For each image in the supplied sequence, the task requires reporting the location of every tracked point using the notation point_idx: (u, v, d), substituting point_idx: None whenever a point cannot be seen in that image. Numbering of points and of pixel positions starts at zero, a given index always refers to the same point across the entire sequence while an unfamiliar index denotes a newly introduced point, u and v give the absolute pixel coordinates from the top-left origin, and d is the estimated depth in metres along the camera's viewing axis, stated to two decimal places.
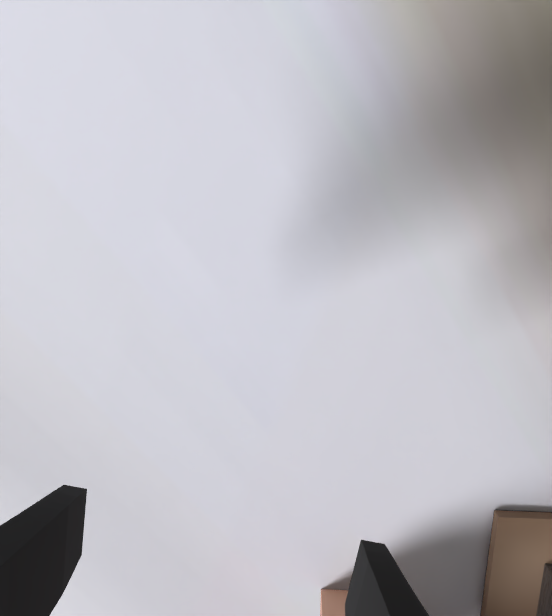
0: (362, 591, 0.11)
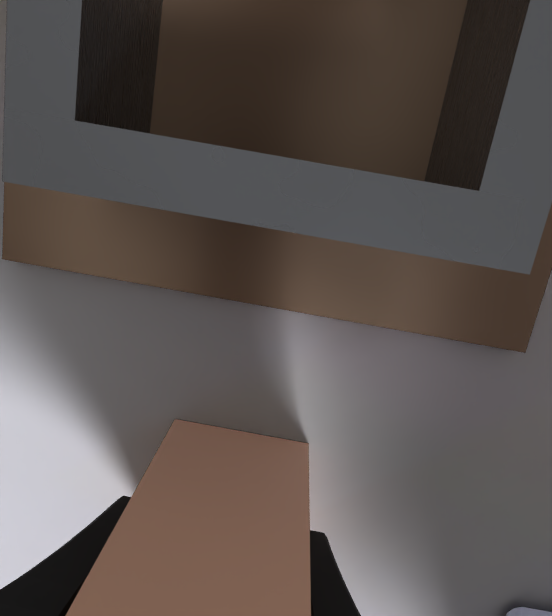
0: None
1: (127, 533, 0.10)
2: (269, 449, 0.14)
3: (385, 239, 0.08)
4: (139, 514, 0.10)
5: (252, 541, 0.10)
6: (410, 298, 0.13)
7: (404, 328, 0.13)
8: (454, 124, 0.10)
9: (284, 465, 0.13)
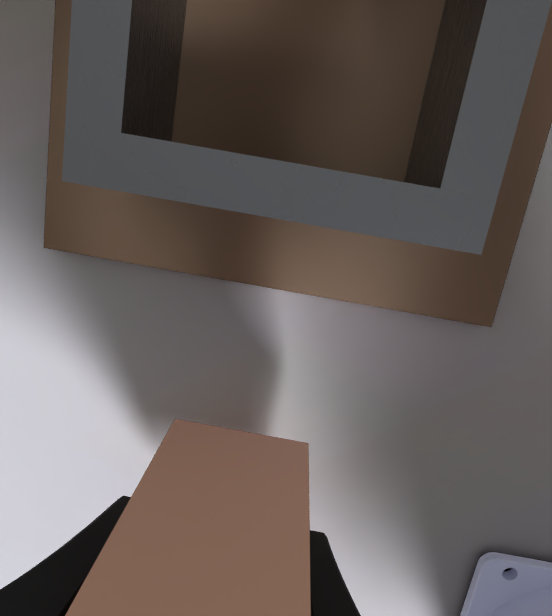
0: None
1: (127, 533, 0.10)
2: (269, 448, 0.14)
3: (367, 227, 0.10)
4: (139, 514, 0.10)
5: (252, 540, 0.10)
6: (393, 280, 0.15)
7: (388, 306, 0.15)
8: (426, 134, 0.12)
9: (283, 465, 0.13)
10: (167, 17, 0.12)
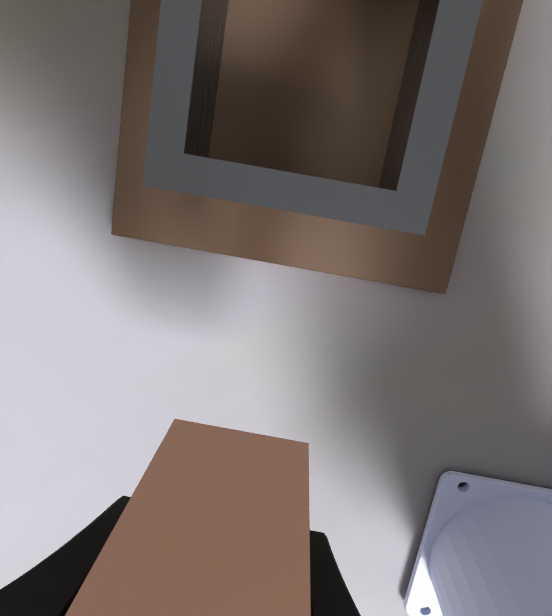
0: None
1: (127, 533, 0.10)
2: (269, 449, 0.14)
3: (348, 216, 0.16)
4: (139, 514, 0.10)
5: (252, 540, 0.10)
6: (371, 258, 0.20)
7: (368, 278, 0.20)
8: (392, 152, 0.17)
9: (284, 465, 0.13)
10: (210, 71, 0.17)
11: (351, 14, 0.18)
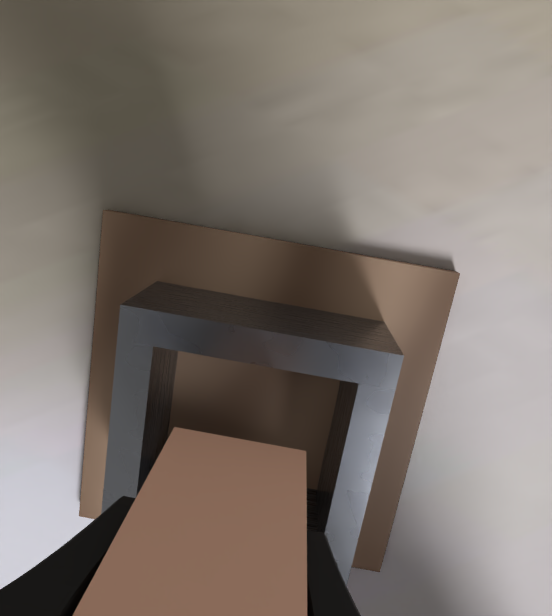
0: None
1: (127, 543, 0.10)
2: (267, 457, 0.14)
3: None
4: (139, 523, 0.10)
5: (250, 550, 0.10)
6: None
7: None
8: (323, 483, 0.20)
9: (281, 474, 0.13)
10: (161, 418, 0.19)
11: None
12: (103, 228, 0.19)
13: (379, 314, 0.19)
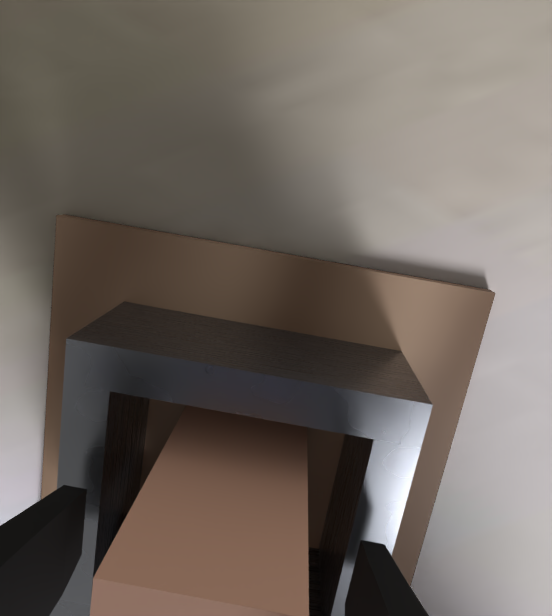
0: (362, 591, 0.11)
1: (159, 478, 0.12)
2: None
3: None
4: (168, 465, 0.13)
5: (261, 486, 0.12)
6: None
7: None
8: (327, 547, 0.16)
9: (286, 433, 0.15)
10: (128, 469, 0.16)
11: None
12: (57, 237, 0.16)
13: (396, 342, 0.16)
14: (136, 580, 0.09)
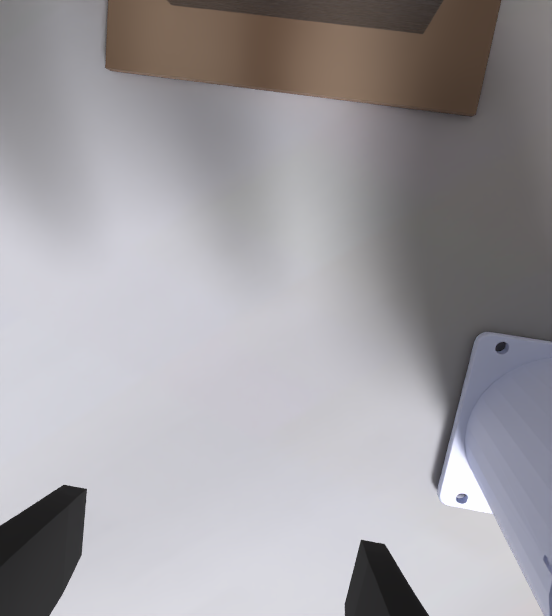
0: (362, 591, 0.11)
1: None
2: None
3: None
4: None
5: None
6: (390, 76, 0.18)
7: (387, 101, 0.18)
8: None
9: None
10: None
11: None
12: None
13: None
14: None
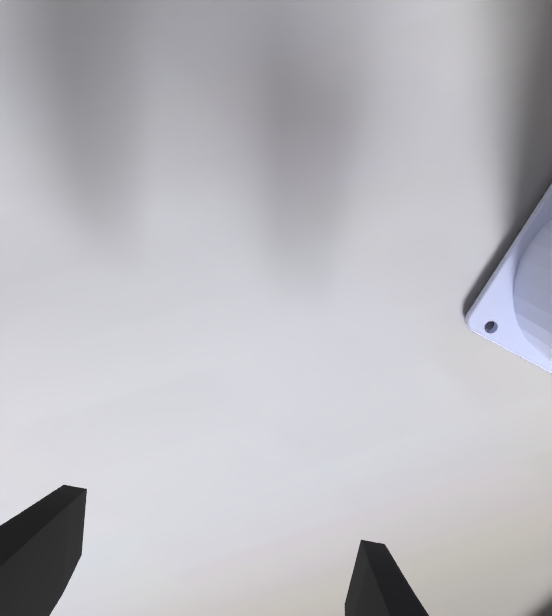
0: (362, 591, 0.11)
1: None
2: None
3: None
4: None
5: None
6: None
7: None
8: None
9: None
10: None
11: None
12: None
13: None
14: None
